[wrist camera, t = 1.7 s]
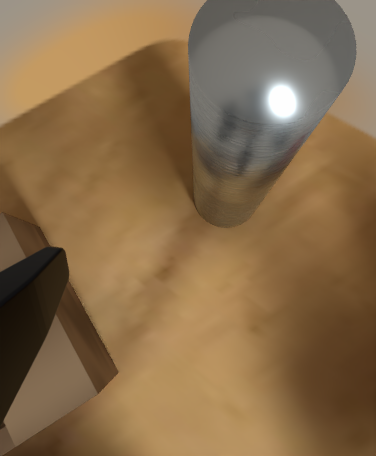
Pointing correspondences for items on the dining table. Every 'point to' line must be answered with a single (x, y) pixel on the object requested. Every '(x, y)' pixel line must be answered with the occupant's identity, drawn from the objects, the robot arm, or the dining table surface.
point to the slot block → (52, 351)
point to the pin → (259, 94)
